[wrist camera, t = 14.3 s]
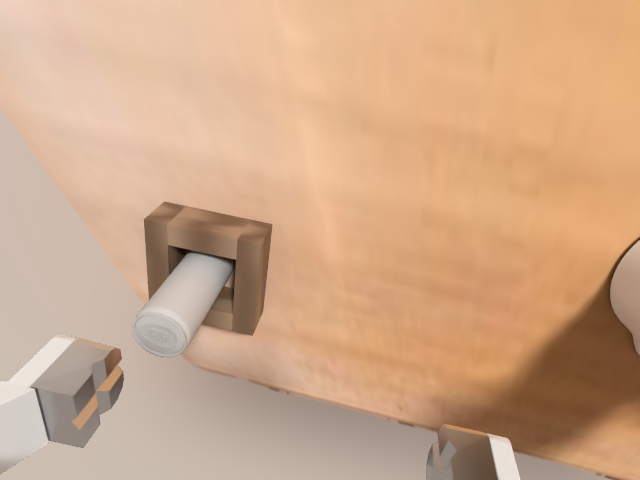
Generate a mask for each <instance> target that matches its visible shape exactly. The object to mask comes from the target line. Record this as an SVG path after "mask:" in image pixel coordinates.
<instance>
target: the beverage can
mask: <svg viewBox="0 0 640 480" xmlns="http://www.w3.org/2000/svg"><path fill="white" fill-rule="evenodd" d="M232 270H233V261H232V259H230V258H226V257H221V256H216V255H212V254H207V253H203V252H198V251H193V250H190V251H189V252H188V253H187V254H186V256H185V257H184V258H183V259H182V261H181V262H180V263H179V264H178V266H177V267H176V268H175V269H174V270H173V272H172V273H171V274H170V275H169V277H168V278H167V279H166V280H165V281H164V283H163V284H162V285H161V286H160V287H159V289H158V290H157V291H156V292H155V294H154V295H153V296H152V297H151V298H150V300H149V301H148V302H147V303H146V305H145V306H144V307H143V308H142V309H141V311H140V312H139V313H138V314H137V316H136V319H135V321H134V322H133V325H132V333H133V336H134V338H135V340H136V341H137V343H138V344H139V345H140V346H141V347H142V348H143V349H145V350H146V351H148V352H150V353H152V354H154V355H157V356H161V357H173V356H176V355H178V354H180V353H181V352H182V351H183V350H184V349H185V348H186V347H187V346H188V345H189V343H190V342H191V340H192V338H193V337H194V335H195V333H196V332H197V330H198V328H199V327H200V325H201V323H202V322H203V320H204V318H205V317H206V315H207V313H208V312H209V310H210V308H211V307H212V305H213V303H214V302H215V300H216V298H217V297H218V295H219V293H220V292H221V290H222V288H223V287H224V285H225V283H226V282H227V280H228V278H229V276H230V275H231V273H232Z"/></svg>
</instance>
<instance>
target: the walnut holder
mask: <svg viewBox="0 0 640 480" xmlns="http://www.w3.org/2000/svg"><path fill="white" fill-rule="evenodd" d="M144 227H145V243H146V259H147V275H148V291H149V300H150V298H151V297H152V296H153V295H154V294H155V292H156V291H157V290H158V289H159V287H160V286H161V285H162V284H163V283H164V281H165V280H166V279H167V278H168V277H169V275H170V274H171V273H172V272H173V270H174V269H175V268H176V267H177V266H178V264H179V263H180V262H181V261H182V259H183V258H184V257H185V256H186V249H189V250H193V251H198V252H203V253H207V254H212V255H216V256H221V257H226V258H230V259H235V260H236V270H235V286H234V289H232V288H228V287H223V288H222V290H221V292H220V293H219V295H218V297H217V298H216V300H215V302H214V303H213V305H212V307H211V308H210V310H209V312H208V313H207V315H206V317H205V318H204V320H203V322H202V323H201V324H203V325H207V326H212V327H216V328H221V329H225V330H230V331H234V332H238V333H243V334H247V335H252V336H253V333H254V331H255V329H256V326H257V324H258V322H259V319H260V317H261V315H262V312H263V306H264V297H265V288H266V278H267V269H268V260H269V250H270V241H271V232H272V224H268V223H263V222H258V221H254V220H249V219H244V218H239V217H235V216H230V215H225V214H220V213H216V212H211V211H206V210H201V209H196V208H192V207H187V206H182V205H177V204H173V203H168V202H164V203H163V204H161V205H160V206H159V207H158V208H157V209H156V210H154V211H153V212H152V213H151V214H150V215H149V216H147V217H146V218H145V219H144Z"/></svg>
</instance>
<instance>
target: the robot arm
mask: <svg viewBox="0 0 640 480" xmlns="http://www.w3.org/2000/svg"><path fill="white" fill-rule="evenodd" d="M610 299H611V304H612V307H613V310H614V312H615V314H616V316H617V317H618V319H619V320H620V321H621V322H622V323H623V324H624V325H625V326H626V327H627V328H628V329H629V331H630V332H631V333H632V335H633V340H634V346H635V349H636V352H637V353H638V354H639V355H640V240H639V241H638V242H637V243H636V244H635V245H634V246H633V247H632V248H631V249H630V250H629V251H628V252H627V253H626V255H625V256H624V257H623V259H622V260H621V262H620V263H619V265H618V267H617V268H616V271H615V273H614V275H613V278H612V282H611V287H610ZM121 359H122V357H121V351H120V349H118V348H115V347H111V346H107V345H103V344H99V343H96V342H92V341H88V340H84V339H80V338H76V337H72V336H68V335H63V334H60V335H57V336H55V337H54V338H52V339H51V340H50V341H49V342H48V343H47V344H46V345H45V346H44V347H43V348H42V349H41V350H40V351H39V352H38V353H37V354H36V355H35V356H34V357H33V358H32V359H31V360H30V361H29V362H28V363H27V364H26V365H25V366H24V367H22V368H21V370H19V371H18V372H17V373H16V374H15V375H14V376H13V377H12V378H11V379H10V380H9V381H8V382H4V381H0V474H2V473H3V472H5V471H6V470H8V469H9V468H11V467H12V466H14V465H16V464H17V463H19V462H20V461H22V460H23V459H25V458H26V457H28V456H29V455H31V454H33V453H34V452H36V451H37V450H38V449H40V448H42V447H43V446H45V445H46V444H48V443H49V441H53V442H58V443H62V444H67V445H72V446H76V447H81V448H84V446H85V445H86V443H87V442H88V441H89V439H90V438H91V437H92V435H93V434H94V432H95V431H96V429H97V428H98V427H99V425H100V414H102V413H104V412H106V411H108V410H109V409H111V408H112V406H113V405H114V404H115V402H116V401H117V399H118V397H119V394H120V392H121V390H122V387H123V380H124V375H123V371H122V369H121V368H120V367H119V366H118V365H117V364H118V363H119V362H120V361H121ZM426 480H521V479H520V476H519V472H518V469H517V464H516V461H515V457H514V453H513V449H512V446H511V442H510V441H509V440H508V438H505V437H501V436H496V435H492V434H488V433H484V432H481V431H476V430H472V429H467V428H462V427H458V426H453V425H449V424H443V425H442V426H441V427H440V429H439V431H438V442H437V443H435V444H433V445H432V447H431V449H430V452H429V455H428V460H427V469H426Z"/></svg>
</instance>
